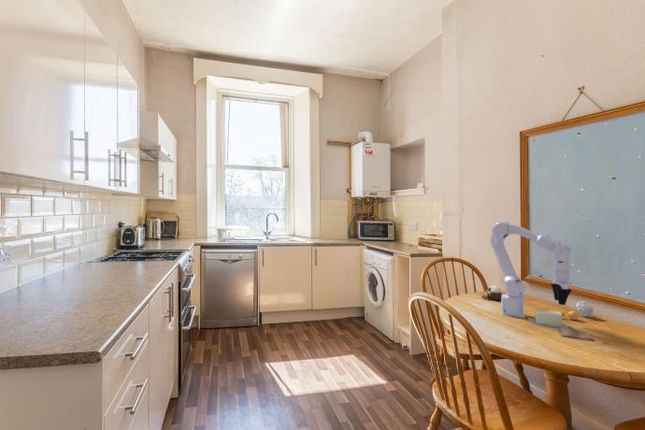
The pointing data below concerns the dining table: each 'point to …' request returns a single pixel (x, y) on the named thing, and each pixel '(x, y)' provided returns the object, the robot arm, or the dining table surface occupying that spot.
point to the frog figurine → (584, 309)
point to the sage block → (548, 317)
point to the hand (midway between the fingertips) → (559, 302)
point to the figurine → (571, 315)
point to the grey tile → (533, 322)
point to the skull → (493, 294)
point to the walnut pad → (574, 334)
